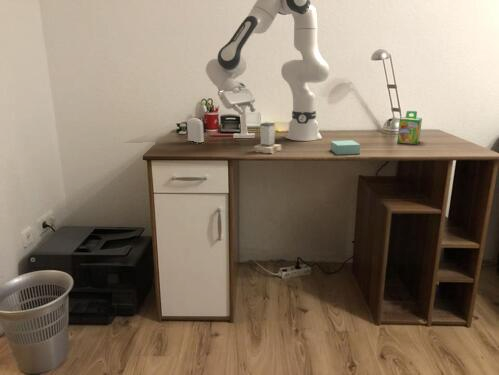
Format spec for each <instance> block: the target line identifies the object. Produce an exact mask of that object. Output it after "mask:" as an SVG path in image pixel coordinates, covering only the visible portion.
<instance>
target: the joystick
mask: <svg viewBox="0 0 499 375" xmlns="http://www.w3.org/2000/svg"><path fill="white" fill-rule="evenodd" d="M247 107H248V106H242V107H240V109H242V110H243V111H244V113H243V114H241V115H240V117H241V118H240V133H233V139H234V138H254V137H255V138H256V136H255V135H256V133H255V132H253V133H249V132H248V125H247V124H248V120H247Z"/></svg>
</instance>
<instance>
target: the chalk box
mask: <svg viewBox="0 0 499 375" xmlns="http://www.w3.org/2000/svg"><path fill="white" fill-rule="evenodd" d="M411 114H413V115H412V116H410V115H411ZM417 116H418V112H417V111H416V110H407V111H406V114H405V116H402V117H401V118H399V121H398V123H399V124H398V130H397V131H398V132H397V139H396V140H397V144H408V145H418V144H419V142H420V140H421V139H420V138H421V129H422V122H423V121H422V120H423V118H422V117H417Z"/></svg>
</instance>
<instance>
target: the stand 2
mask: <svg viewBox="0 0 499 375" xmlns="http://www.w3.org/2000/svg"><path fill="white" fill-rule="evenodd" d="M330 151H331V152H333V153H334V154H335V155H360V154H361V144H360V143H358V142H356V141H355V140H350V139H348V140H331V141H330Z"/></svg>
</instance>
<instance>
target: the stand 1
mask: <svg viewBox="0 0 499 375" xmlns="http://www.w3.org/2000/svg"><path fill="white" fill-rule="evenodd" d="M254 151H258V152H257V153H259V152H265V153H264V154H267V153H272V154H275V153H277V151H278V152H279V151H280V152H281V151H282V144H276V143H274V145H273V146H270V147H266V146H261V143H259V144H256V145H253V152H254ZM274 152H275V153H274Z"/></svg>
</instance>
